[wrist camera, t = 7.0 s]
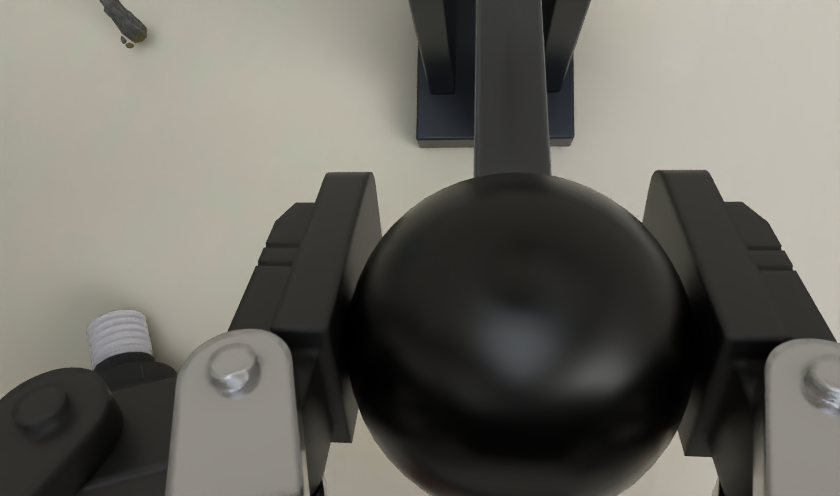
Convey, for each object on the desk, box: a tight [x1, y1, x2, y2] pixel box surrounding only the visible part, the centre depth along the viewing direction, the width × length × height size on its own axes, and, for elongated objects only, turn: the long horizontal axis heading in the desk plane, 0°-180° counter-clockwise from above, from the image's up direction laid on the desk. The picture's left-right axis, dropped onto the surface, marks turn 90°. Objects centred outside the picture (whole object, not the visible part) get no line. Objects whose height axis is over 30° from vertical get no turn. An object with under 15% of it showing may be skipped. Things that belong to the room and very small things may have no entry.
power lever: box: [346, 0, 696, 496], centre depth 11 cm, size 16×4×4 cm, turn 179°
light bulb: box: [87, 310, 177, 392], centre depth 23 cm, size 6×6×10 cm
